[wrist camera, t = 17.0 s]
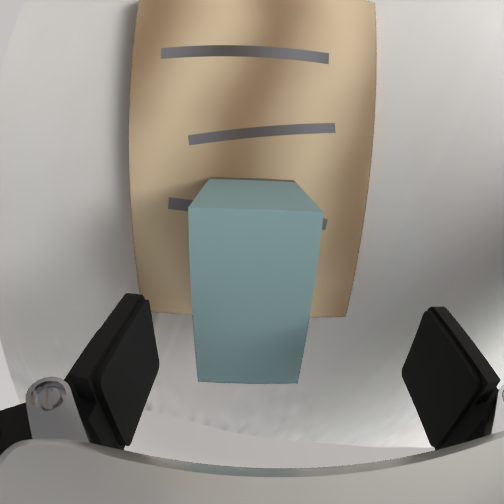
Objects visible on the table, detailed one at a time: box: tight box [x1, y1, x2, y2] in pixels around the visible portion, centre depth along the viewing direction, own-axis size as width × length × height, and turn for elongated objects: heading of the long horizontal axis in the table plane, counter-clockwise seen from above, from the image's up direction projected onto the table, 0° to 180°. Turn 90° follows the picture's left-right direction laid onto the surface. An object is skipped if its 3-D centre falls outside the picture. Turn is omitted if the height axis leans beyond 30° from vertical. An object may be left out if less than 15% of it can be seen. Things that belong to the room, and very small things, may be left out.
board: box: [129, 0, 377, 317], centre depth 15 cm, size 12×18×1 cm, turn 178°
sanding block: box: [188, 177, 324, 384], centre depth 13 cm, size 7×4×6 cm, turn 178°
